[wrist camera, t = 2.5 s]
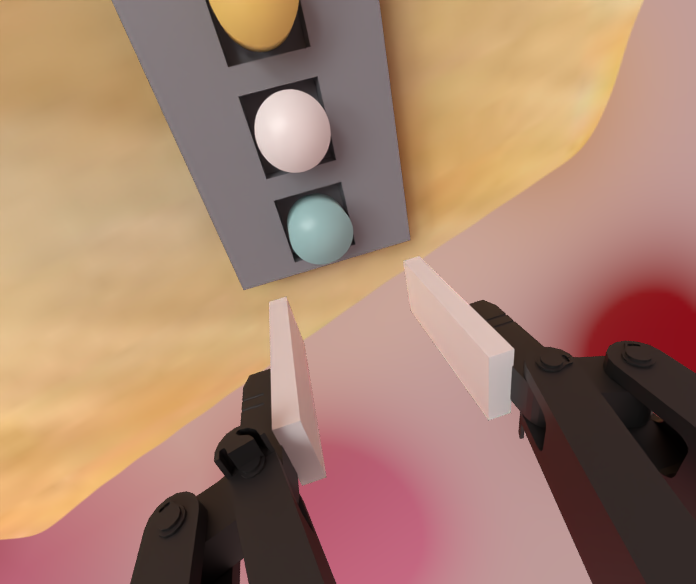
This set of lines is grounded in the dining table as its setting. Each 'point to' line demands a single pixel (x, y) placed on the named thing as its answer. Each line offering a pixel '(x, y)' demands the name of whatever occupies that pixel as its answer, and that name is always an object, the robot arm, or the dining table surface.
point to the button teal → (319, 229)
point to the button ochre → (256, 21)
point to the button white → (292, 131)
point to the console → (240, 113)
